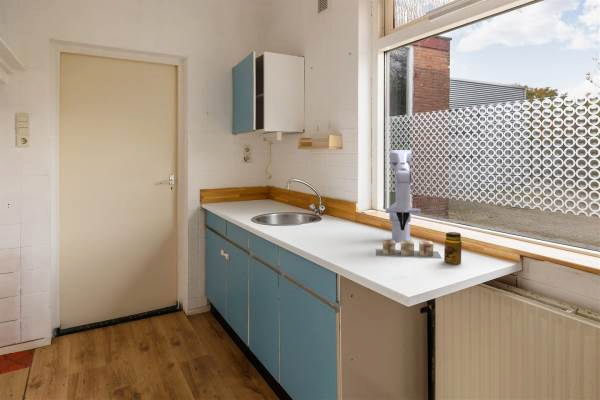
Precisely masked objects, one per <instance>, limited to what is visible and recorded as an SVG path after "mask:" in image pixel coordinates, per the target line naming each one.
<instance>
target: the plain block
mask: <svg viewBox="0 0 600 400" xmlns="http://www.w3.org/2000/svg"><path fill="white" fill-rule="evenodd" d="M400 250H401V255H414V251H415V241H414V240H410V241H405V240H401V242H400Z"/></svg>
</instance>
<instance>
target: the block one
mask: <svg viewBox="0 0 600 400" xmlns="http://www.w3.org/2000/svg"><path fill="white" fill-rule="evenodd" d="M382 249H383V254H390V255H395V250H396V242H395V240H390V239H383V240H382Z"/></svg>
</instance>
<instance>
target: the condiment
mask: <svg viewBox="0 0 600 400" xmlns="http://www.w3.org/2000/svg"><path fill="white" fill-rule="evenodd" d="M461 239H462V237H461V233H460V232H456V231H449V232H448V231H447V232H446V234H445V239H444V251H443V252H444V255H443V256H444V257H443V258H444V259H443V261H444V263H445V264H448V265H456V266H457V265H460V264H461V263H462V245H463V244H462V240H461Z"/></svg>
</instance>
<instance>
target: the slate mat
mask: <svg viewBox="0 0 600 400" xmlns="http://www.w3.org/2000/svg"><path fill="white" fill-rule="evenodd" d="M440 254H441V253H439V251H434V250H433V256H420V254H419V250H414V255H401V249H395V255H390V254H383V248H382V249H380V248H379V249H377V248H376V249H375V257H392V258H393V257H395V258H415V259H416V258H418V259H443V258H442V256H441V255H440Z"/></svg>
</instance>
